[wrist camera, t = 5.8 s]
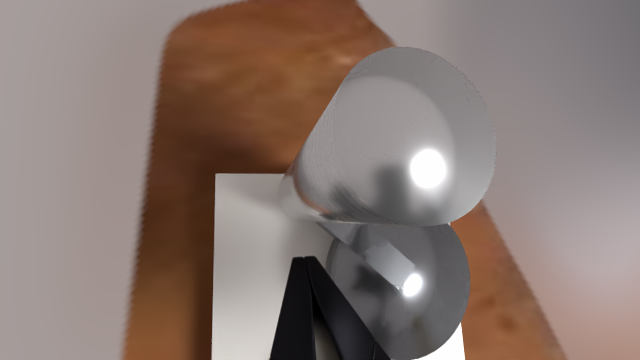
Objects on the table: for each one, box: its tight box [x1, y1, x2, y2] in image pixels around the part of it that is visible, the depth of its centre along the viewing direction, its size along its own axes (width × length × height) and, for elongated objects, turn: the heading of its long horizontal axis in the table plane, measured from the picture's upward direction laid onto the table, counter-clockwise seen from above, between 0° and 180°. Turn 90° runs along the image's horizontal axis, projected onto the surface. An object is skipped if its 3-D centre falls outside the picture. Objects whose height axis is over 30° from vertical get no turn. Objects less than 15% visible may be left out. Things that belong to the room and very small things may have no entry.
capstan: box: [278, 47, 496, 360], centre depth 9 cm, size 14×12×11 cm
